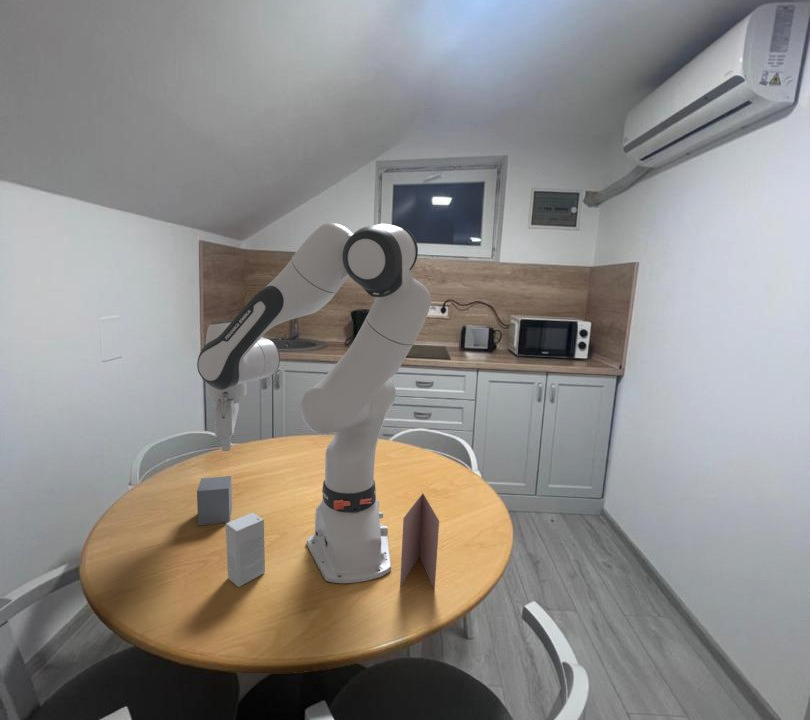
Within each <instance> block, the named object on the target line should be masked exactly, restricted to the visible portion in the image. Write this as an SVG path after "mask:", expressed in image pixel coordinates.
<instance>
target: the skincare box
mask: <svg viewBox="0 0 810 720" xmlns="http://www.w3.org/2000/svg"><path fill="white" fill-rule="evenodd" d="M225 537H226V541H225V542H226V560H227V564H226V565H227V579H228V580H230V581H231V582H232V583H233V584H234V585H235V586H237V587H238V588H240V587H242V586H243V585H245V584H247V583H248V582H251V581H252V580H254V579H256V578H258V577H260V576H262V575H264V574H265V573H266V563H265V562H266V561H265V559H266V558H265V557H266V556H265V555H266V554H265V552H266V551H265V519H264V518H262V517H261V516H259V515H258V514H256V513H254V512H250V513H247V514H246V515H243V516H241V517H237V518H236V519H234V520H230V522H225Z"/></svg>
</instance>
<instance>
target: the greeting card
mask: <svg viewBox="0 0 810 720" xmlns="http://www.w3.org/2000/svg"><path fill="white" fill-rule="evenodd" d="M439 530H440V520H439V518H438V517H437V514H436V512H435V511H434V509H433V507H432V506H431V503H430V502H429V501H428V499H427V497H426V496H425V494H424V492H422V494H421V495H420V496H419V497H418V499H417V500H416V501H415V503H414V504H413V505H412V507H410V509H409V510H408V512H407V513H406V514H405V516H404V517H403V521H402V541H401V562H400V580H399V588H401V587H402V586H403V584H404V582H405V580H406V578H407V577H408V575H409V573H410V572H411V571H412V569H413V567H414V565H415V564H416V563H417V561H418V559H419V558H421V559H420V561H421V563H422V565H423V568H424V570H425V572H426V575H427V577H428V579H429V582H430V584H431V586H432V589H433V590H434V591H436V576H437V575H436V574H437V562H438V561H437V558H438V547H439V545H438V544H439Z"/></svg>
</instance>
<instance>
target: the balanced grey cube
mask: <svg viewBox="0 0 810 720" xmlns="http://www.w3.org/2000/svg"><path fill="white" fill-rule="evenodd" d="M232 493H233V491H232V475H229V476H228V475H227V476H212V477H201V479H200V482H199V484H198V488H197V489H196V501H197V502H196V505H197V526H206V525H214V524H222V523H225V524H226V523H229V522H231V516H232V515H231V514H232V510H233V509H232V508H233V502H232V501H233V500H232V499H233V497H232Z"/></svg>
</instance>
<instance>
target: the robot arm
mask: <svg viewBox="0 0 810 720" xmlns="http://www.w3.org/2000/svg"><path fill="white" fill-rule="evenodd" d="M418 248H419V247H418V243H417V240H416V238H415V237H414V235H413V234H412V232H410V231H409V230H408V229H407V228H406V227H404V226H401V225H398V224H390V223H389V224H388V223H376V224H373V225H368V226H364V227H361V228H359V229H358V230H356V231H355V232H354V233H353V232H352V231H351V230H350V229H349V228H348V227H345V226H344V225H342V224H339V223H337V222H325V223H323V224H321V225H319V227H318V228H316V229H315V230H314V231H313V232H312V233H311V234H310V235H309V236H308V237H307V239H306V240H305V241H304V242H303V243H302V244H301V245H300V247H299V248H298V249H297V250H296V252H295V253H294V255H293V256H292V257H291V259H290V260H289V261H288V263H287V264H286V265H285V266H284V268H283V269H282V270H281V271H280V273H278V274H277V275H276V276H275V278H274V279H273V280H271V281H270V282H269V283H268V284H267V285H266V286H265V287H263V288H262V289H261V290H260V291H258V292H257V293H256V294H255V295H254V296H253V297H252V298H251V299H250V300H249V301H248V302H247V303H246V304H245V306H244V307H243V308H242V309H241V310H240V311H239V312H238V314H237V315H236V316H235V317H234V319H232V320H223V321H222V320H221V321H215V322H213V323H211V324H209V325H208V328H207V330H206V337H205V338H206V339H205V345H204V346H203V347H202V349H201V351H200V352H199V355H198V358H197V362H196V363H197V365H196V367H197V372H198V374H199V376H200V377H201V379H202V380H203V381H204V382H205V383H206V396H207V397H208V398H210V399H212V402H213V404H215V409H214V435H215V438H216V439H220V442H221V451H222V452H229V451H231V443H232V442H231V438H232V437H234V435H235V428H236V423H237V419H238V415H239V411H240V410H239V409H240V403H241V402H242V398H243V397H245V396H247V393H248V392H247V391H248V389H247V387H248V386H247V383H249V382H253V381H257V380H262V379H265V378H268V377H271V376H273V375H274V374H276V373H277V370H278V369H279V366H280V363H281V356H280V351H279V348H278V347H277V345H276V343H275V342H274V341H273V340H271V339H270V338H266V337H264V335H265V334H266V333H267V332H268V331H270V330H271V329H272V328H274V327H276V326H278V325H280V324H282V323H284V322H288V321H292V320H295V319H297V318H303V317H306V316H310V315H314V314H315V313H317V312H319V311H320V310H322V308H324V307H325V306H326V305H328V303H329V302H331V300H332V299H333V298H334V297H335V295H336V294H337V292H338V291H339V290H340V288H342V286H343V285H344V284H345V282H346V281H347V279H349V278H351V279H352V280H353V281H354V282H355V283H356V284H358V285H359V286H361V288H362V289H363V290H364V291H365V292H366V293H367V294H368V296H371V297H373V298H374V301H373V303H372V305H371V307H370V309H369V311H368V313H367V315H366V317H365V319H364V321H363V323H362V325H361V327H360V329H359V330H358V332H357V334H356V336H355V338H354V340H353V341H352V343H351V345H350V346H349V348H348V349H347V351H346V352H345V353H344V354H343V356H341V357H340V359H339V360H338V361H337V362H336V363H335V364H334V365H333V367H331V369H330V370H329V371H328V372H327V374H326V375H325V376H324V377H323V378H322V379H321V380H320V381H318V383H315V385H313V386H312V387H310V388H309V389H308V390H306V391H305V393H304V394H303V396H302V398H301V402H300V412H301V417H302V419H303V422H304V423H305V425H306V426H307V427H308V429H310V430H311V431H312V432H314V433H316V434H333V433H334V436H333V438H332V439H331V441H330V442H329V443H328V445H327V447H326V449H325V453H324V454H325V455H324V456H325V460H324V461H325V463H324V465H325V466H324V480H323V483H322V488H321V493H322V501H321V502H320V503H319V504H318V505H317V506H316V508H315V516H314V518H315V519H314V533H313V534H311V535H309V536H308V537H307V539H306V545H307V547H308V549H309V551H310V554H311V555H312V557H313V559H314V561H315V563H316V565H317V567H318V569H319V571H320V573H321V575H322V576H323V579H324V581H326V582H329V583H335V584H353V583H360V582H367V581H370V580H375V579H378V578H380V577H383V576H384V575H387V574H388V573H390V572H391V570H392V564H391V555H390V547H389V546H390V545H389V539H388V537H389V536H388V533H389V531H388V525H383V524H382V523H380V521H381V520H380V519H384V512H383V511H379V510H380V500H378V499H377V496H376V495H377V492H376V491H377V488H376V482H375V479H374V476H375V475H374V474H375V461H376V451H377V445H378V440H379V438H380V435H381V431H382V428H383V425H384V421H385V420H386V417H387V414H388V413H389V410H390V409H391V408H392V406H394V403H395V401H396V397H397V393H396V387H395V383H394V382H393V381H392V377H394V376H395V375H396V374H397V373H398V371H399V370H400V368H401V366H402V365H403V363H404V361H405V359H406V357H407V356H408V354H409V353H410V351H411V350H412V347H413V345H414V344H415V342H416V341H417V339H418V337H419V335H420V333H421V331H422V329H423V327H424V325H425V322H426V320H427V317H428V315H429V312H430V309H431V306H432V296H431V293H430V291H429V290H428V288H427V287H426V286H425V285H424V284H423V283H422V282H420V281H419V280H418V279H415V277H414V276H413V274H412V273H411V272H412V271H411V270H412V269H413V267H414V266H415V265H416V262H417V260H418V253H419V249H418Z"/></svg>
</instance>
